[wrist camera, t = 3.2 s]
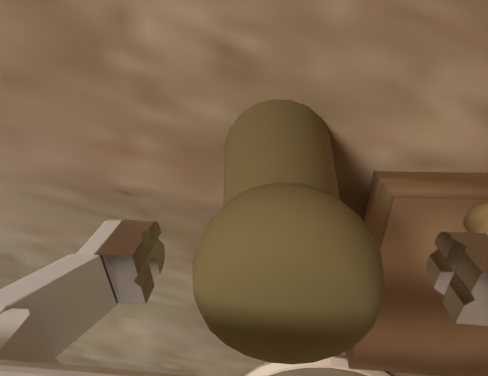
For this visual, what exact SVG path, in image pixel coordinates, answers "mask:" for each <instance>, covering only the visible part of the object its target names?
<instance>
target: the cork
mask: <svg viewBox="0 0 488 376" xmlns="http://www.w3.org/2000/svg"><path fill="white" fill-rule="evenodd" d="M193 287H194V298H195V301H196V303H197V305H198V308H199V310H200V312H201V314H202V316H203V318H204V320H205V322H206V324H207V325H208V327H209V329H210V330H211V331H212V332H213V333H214V334H215V335H216V336H217V337H218V338H219V339H220V340H221V341H222V342H223V343H224V344H226V345H228V346H230V347H231V348H233V349H235V350H237V351H239V352H241V353H242V354H244V355H247V356H250V357H253V358H256V359H260V360H263V361H267V362H270V363H281V364H303V363H313V362H317V361H320V360H323V359H327V358H330V357H333V356H336V355H339V354H341V353H343V352H344V351H346V350H348V349H350V348H351V347H353V346H355V345H356V344H358V343H359V342H360V341H361V340H362V339H363V338H364V337H365V336H366V335H367V334H368V333H369V331H370V330H371V329H372V328H373V327H374V324H375V321H376V318H377V316H378V313H379V310H380V307H381V304H382V301H383V298H384V295H385V283H384V274H383V265H382V257H381V252H380V250H379V248H378V246H377V244H376V242H375V240H374V239H373V237H372V235H371V234H370V232H369V230H368V229H367V227H366V225H365V224H364V222H363V220H362V219H361V217H360V216H359V215H358V214H356V213H355V212H354V211H353V210H352V209H351V208H349V207H348V206H347V205H346V204H344V203H343V202H342V201H340V196H339V189H338V183H337V176H336V170H335V163H334V157H333V150H332V144H331V138H330V132H329V131H328V129H327V127H326V125H325V124H324V122H323V120H322V119H321V117H319V116H318V115H317V114H316V113H315V112H314V111H312V110H311V109H310V108H309V107H307V106H305V105H302V104H299V103H297V102H294V101H291V100H270V101H266V102H263V103H260V104H256V105H254V106H253V107H251V108H250V109H248V110H247V111H245V112H244V113H242V114H241V115H240V116H239V118H238V119H237V120H236V122H235V123H234V124H233V126H232V127H231V128H230V131H229V134H228V137H227V140H226V143H225V172H224V202H223V207H222V208H221V210H220V211H219V212H218V213H217V214H216V215H215V216H214V218H213V219H212V220H211V221H210V222H209V223H208V224H207V226H206V227H205V229H204V231H203V234H202V237H201V239H200V242H199V245H198V248H197V251H196V254H195V257H194V260H193Z"/></svg>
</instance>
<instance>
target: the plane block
mask: <svg viewBox="0 0 488 376" xmlns="http://www.w3.org/2000/svg"><path fill="white" fill-rule="evenodd" d="M363 222H364V224H365V225H366V227H367V229H368V230H369V232H370V234H371V235H372V237H373V239H374V240H375V242H376V244H377V246H378V248H379V250H380V252H381V257H382V265H383V274H384V283H385V295H384V298H383V301H382V304H381V307H380V310H379V313H378V316H377V318H376V321H375V324H374V327H373V328H372V329H371V330H370V331H369V333H368V334H367V335H366V336H365V337H364V338H363V339H362V340H361V341H360V342H359V343H358V344H356V345H355V346H353V347H351V348H350V349H348V350H346V351H345V353H346V357H347V362H348V366H349V369H358V370H372V371H387V372H401V373H415V374H430V375H444V376H486V375H487V374H488V326H481V325H469V324H458V323H455V322H454V320H453V319H452V317H451V315H450V314H449V312H448V311H447V309H446V307H445V306H444V304H443V303H442V300H443V296H444V295H443V294H441V293H440V292H438V291H437V290H435V289H434V288H433V286H432V285H431V283H430V281H429V278H428V275H427V261H428V258H429V255H430V254H432V253H433V252H434V251H436V250H437V247H436V245H435V243H434V242H435V240H436V237H437V235H438V234H439V233H440V232H474V233H480V232H488V173H442V172H377V171H374V175H373V179H372V184H371V189H370V193H369V198H368V203H367V207H366V212H365V217H364V221H363Z"/></svg>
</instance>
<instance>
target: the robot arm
mask: <svg viewBox="0 0 488 376" xmlns="http://www.w3.org/2000/svg"><path fill="white" fill-rule="evenodd" d="M160 234H161V230H160V226H159V224H158V223H157V222H156V221H140V220H120V219H109V220H106V221H105V222H104V223H103V224H102V225H101V226H100V227H99V229H98V230H97V231H96V232H95V233H94V234H93V235H92V237H91V238H90V239H89V240H88V241H87V242H86V243H85V244H84V246H83V247H82V248H81V249H80V250H79V251H78V252H77V254H69V255H67V256H65V257H63V258H61V259H60V260H58V261H56V262H54V263H52V264H50V265H48V266H46V267H44V268H42V269H40V270H38V271H36V272H34V273H32V274H30V275H28V276H26V277H24V278H22V279H20V280H18V281H16V282H14V283H12V284H10V285H8V286H6V287H4V288H2V289H0V376H195V375H183V374H172V373H160V372H148V371H136V370H124V369H112V368H100V367H88V366H76V365H64V364H61V363H60V362H59V360H58V358H57V356H58V355H59V354H60V353H61V352H63V351H64V350H65V349H66V348H67V347H68V346H70V345H71V344H72V343H73V342H74V341H75V340H77V339H78V338H79V337H80V336H81V335H82V334H84V333H85V332H86V331H87V330H88V329H89V328H91V327H92V326H93V325H94V324H95V323H96V322H98V321H99V320H100V319H101V318H102V317H104V316H105V315H106V314H107V313H108V312H109V311H111V310H112V309H113V308H114V307H115V306H116V305H117V303H124V304H146V303H147V301H148V298H149V296H150V294H151V292H152V290H153V288H154V282H153V279H154V278H155V277H157V276H158V275H159V274H160V273H161V270H162V268H163V264H164V259H165V250H164V244H163V243H162V242H161V241H160V240H159V239H158V237H159V235H160ZM434 243H435V245H436V247H437V250H436V251H434V252H433V253H432V254H430V255H429V258H428V261H427V275H428V278H429V281H430V283H431V285H432V286H433V288H434V289H435V290H437V291H438V292H440V293H441V294H443V295H444V296H443V300H442V303H443V304H444V306H445V307H446V309H447V311H448V312H449V314H450V315H451V317H452V319H453V320H454V322H455V323H458V324H469V325H481V326H488V232H480V233H474V232H440V233H439V234H438V235H437V237H436V240H435V242H434Z"/></svg>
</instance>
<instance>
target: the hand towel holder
mask: <svg viewBox="0 0 488 376" xmlns="http://www.w3.org/2000/svg"><path fill="white" fill-rule="evenodd" d="M306 367H307V368H336V369H342V370H349V371H355V372H358V373H361V374H364V375H366V376H391V375H390V374H388V373H387V372H385V371H372V370H358V369H349V366H348V362H347V357H343V356H333V357H330V358H327V359H323V360H320V361H317V362H313V363H303V364H281V363H270V362H268V363H265V364H262V365H260V366H258V367H257V368H255V369H254V370H252V371H251V372H249V373H248V374H246V375H245V376H270V375H273V374H275V373H278V372H281V371H286V370H293V369H299V368H306Z"/></svg>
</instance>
